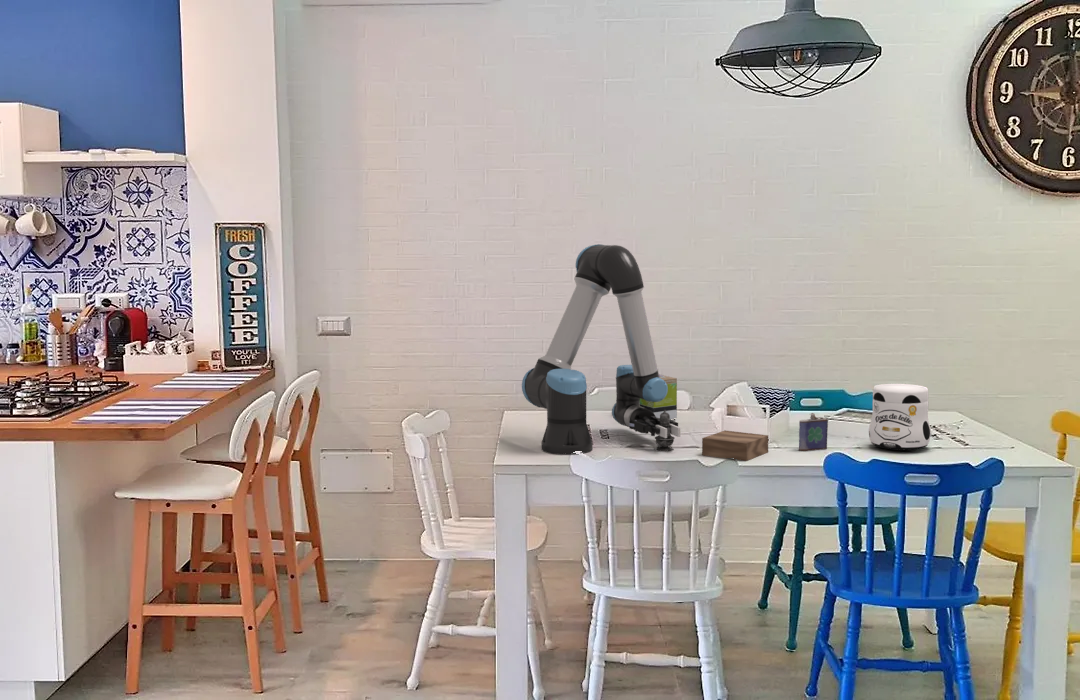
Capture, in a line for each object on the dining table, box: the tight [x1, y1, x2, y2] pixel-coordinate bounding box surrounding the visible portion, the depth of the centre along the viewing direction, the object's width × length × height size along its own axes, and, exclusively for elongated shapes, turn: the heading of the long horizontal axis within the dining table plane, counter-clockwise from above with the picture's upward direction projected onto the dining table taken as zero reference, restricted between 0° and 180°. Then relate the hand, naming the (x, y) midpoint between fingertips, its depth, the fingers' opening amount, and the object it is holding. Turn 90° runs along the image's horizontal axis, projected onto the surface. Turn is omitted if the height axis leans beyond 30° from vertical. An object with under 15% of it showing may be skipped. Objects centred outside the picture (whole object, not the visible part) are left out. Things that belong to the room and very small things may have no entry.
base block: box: [701, 429, 769, 462], centre depth 320 cm, size 14×14×5 cm
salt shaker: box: [654, 410, 676, 452], centre depth 326 cm, size 6×6×12 cm
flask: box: [798, 412, 829, 452], centre depth 324 cm, size 9×3×11 cm, turn 109°
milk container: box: [868, 383, 932, 451], centre depth 325 cm, size 17×17×18 cm
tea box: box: [640, 373, 678, 419], centre depth 378 cm, size 15×10×15 cm, turn 28°
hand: (672, 432), depth 321 cm, fingers closed on salt shaker, 3 cm apart
